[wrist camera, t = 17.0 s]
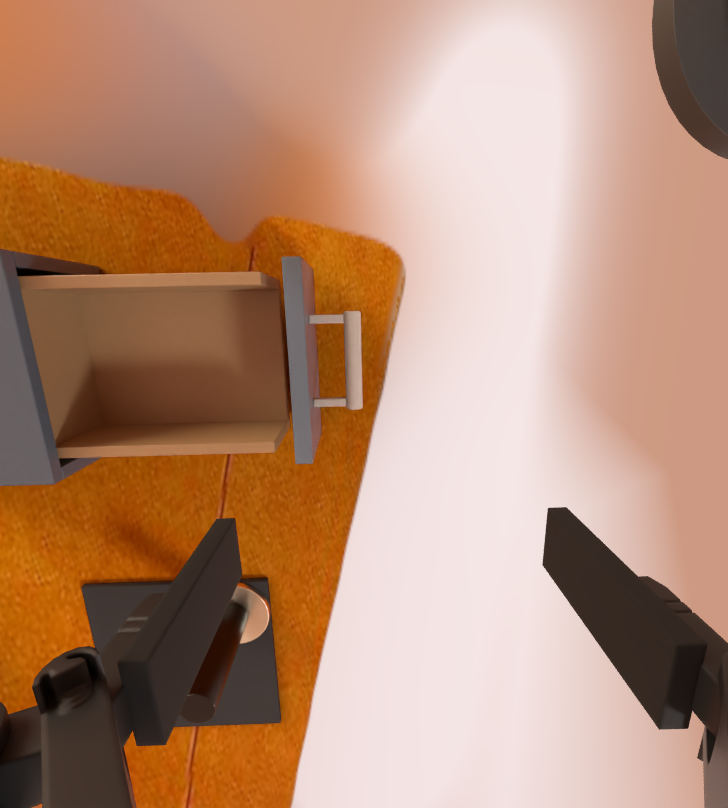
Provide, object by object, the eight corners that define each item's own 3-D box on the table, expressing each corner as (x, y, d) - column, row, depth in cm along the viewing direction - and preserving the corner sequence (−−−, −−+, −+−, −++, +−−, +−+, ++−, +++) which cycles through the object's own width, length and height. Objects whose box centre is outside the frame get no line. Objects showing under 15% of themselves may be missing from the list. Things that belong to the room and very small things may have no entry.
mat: (267, 577, 37) (266, 581, 37) (281, 718, 42) (280, 723, 41) (84, 583, 37) (80, 587, 37) (116, 724, 41) (113, 729, 41)
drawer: (358, 268, 30) (359, 255, 23) (362, 432, 33) (364, 462, 26) (75, 273, 29) (-8, 262, 23) (106, 438, 33) (42, 471, 26)
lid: (267, 580, 37) (237, 671, 28) (272, 637, 38) (246, 742, 29) (197, 582, 37) (143, 674, 27) (205, 640, 38) (157, 745, 29)
